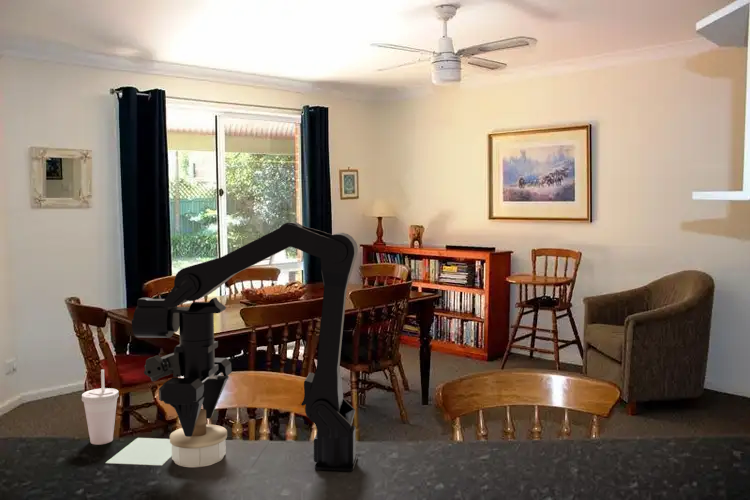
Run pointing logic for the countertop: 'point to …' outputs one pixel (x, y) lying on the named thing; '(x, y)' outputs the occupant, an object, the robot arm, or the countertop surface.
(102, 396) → the smoothie
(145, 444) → the mat
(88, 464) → the countertop surface
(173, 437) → the lid
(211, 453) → the white octagonal pot
